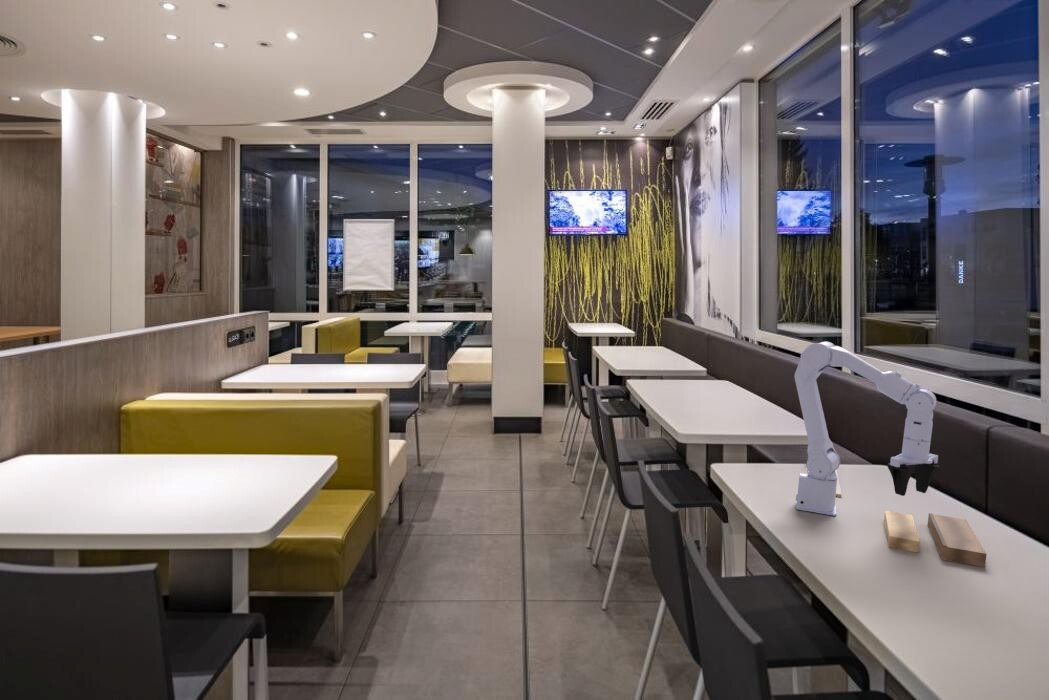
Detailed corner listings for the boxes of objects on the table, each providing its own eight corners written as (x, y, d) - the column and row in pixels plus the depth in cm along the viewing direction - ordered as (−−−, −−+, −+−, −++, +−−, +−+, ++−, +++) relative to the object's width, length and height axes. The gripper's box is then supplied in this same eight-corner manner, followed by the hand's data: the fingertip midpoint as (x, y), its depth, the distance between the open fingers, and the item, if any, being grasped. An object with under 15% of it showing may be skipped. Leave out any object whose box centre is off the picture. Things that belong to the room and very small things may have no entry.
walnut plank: (941, 559, 148) (943, 545, 147) (927, 525, 170) (928, 512, 169) (984, 567, 145) (986, 553, 144) (964, 531, 166) (966, 518, 166)
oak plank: (888, 548, 154) (889, 536, 154) (883, 521, 172) (885, 510, 172) (918, 554, 151) (919, 541, 151) (910, 526, 169) (912, 515, 169)
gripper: (912, 444, 157) (905, 501, 158) (952, 441, 163) (945, 495, 164) (885, 437, 163) (878, 491, 165) (925, 434, 169) (918, 486, 171)
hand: (910, 493), depth 165 cm, fingers open, 7 cm apart
